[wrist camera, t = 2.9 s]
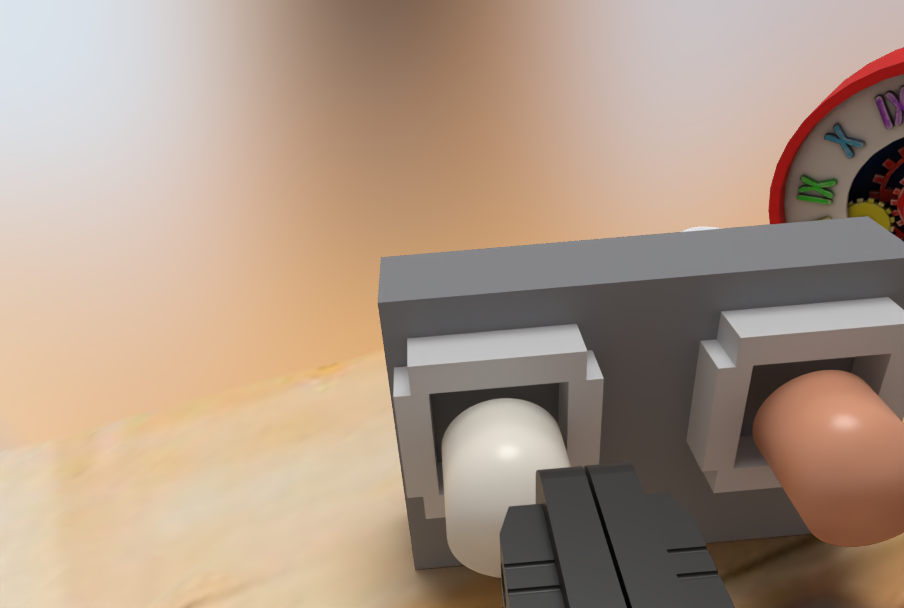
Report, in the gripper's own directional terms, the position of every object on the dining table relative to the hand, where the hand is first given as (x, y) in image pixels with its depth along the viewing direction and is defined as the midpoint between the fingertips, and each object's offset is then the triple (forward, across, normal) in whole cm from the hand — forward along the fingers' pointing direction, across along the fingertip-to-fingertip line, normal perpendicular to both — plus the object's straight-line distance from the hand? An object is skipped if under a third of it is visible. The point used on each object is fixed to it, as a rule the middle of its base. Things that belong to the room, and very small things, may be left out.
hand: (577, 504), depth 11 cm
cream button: (+12, 0, +14) cm, 18 cm away
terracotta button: (+12, -13, +14) cm, 22 cm away
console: (+18, -7, +21) cm, 29 cm away
